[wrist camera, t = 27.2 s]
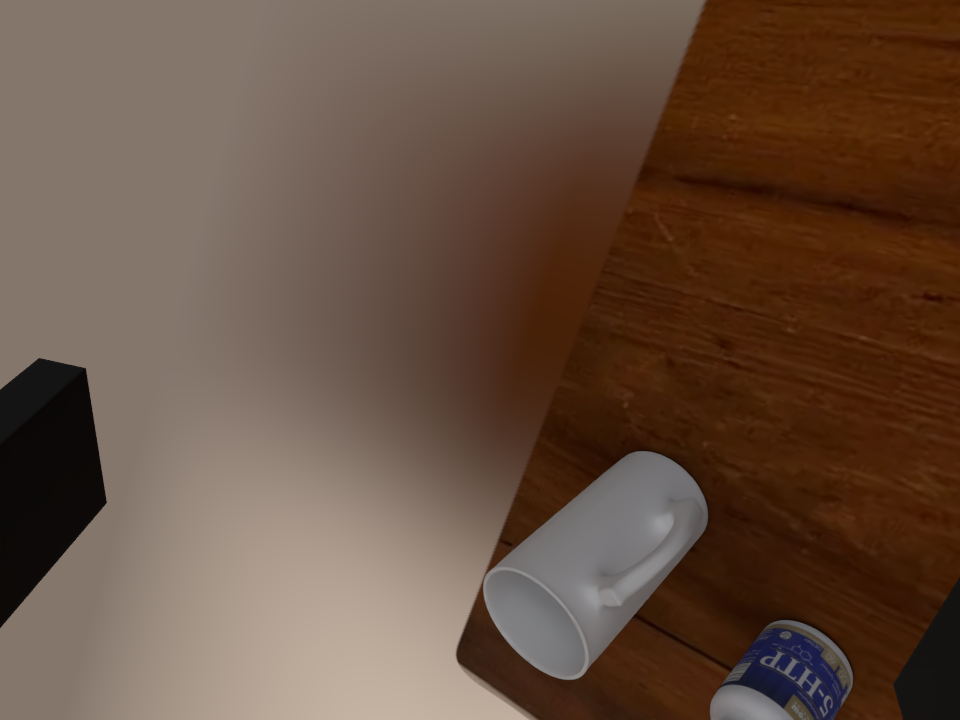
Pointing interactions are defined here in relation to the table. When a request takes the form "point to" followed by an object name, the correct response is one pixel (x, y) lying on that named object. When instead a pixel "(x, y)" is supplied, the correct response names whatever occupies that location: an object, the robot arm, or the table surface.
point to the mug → (595, 563)
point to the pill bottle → (785, 677)
